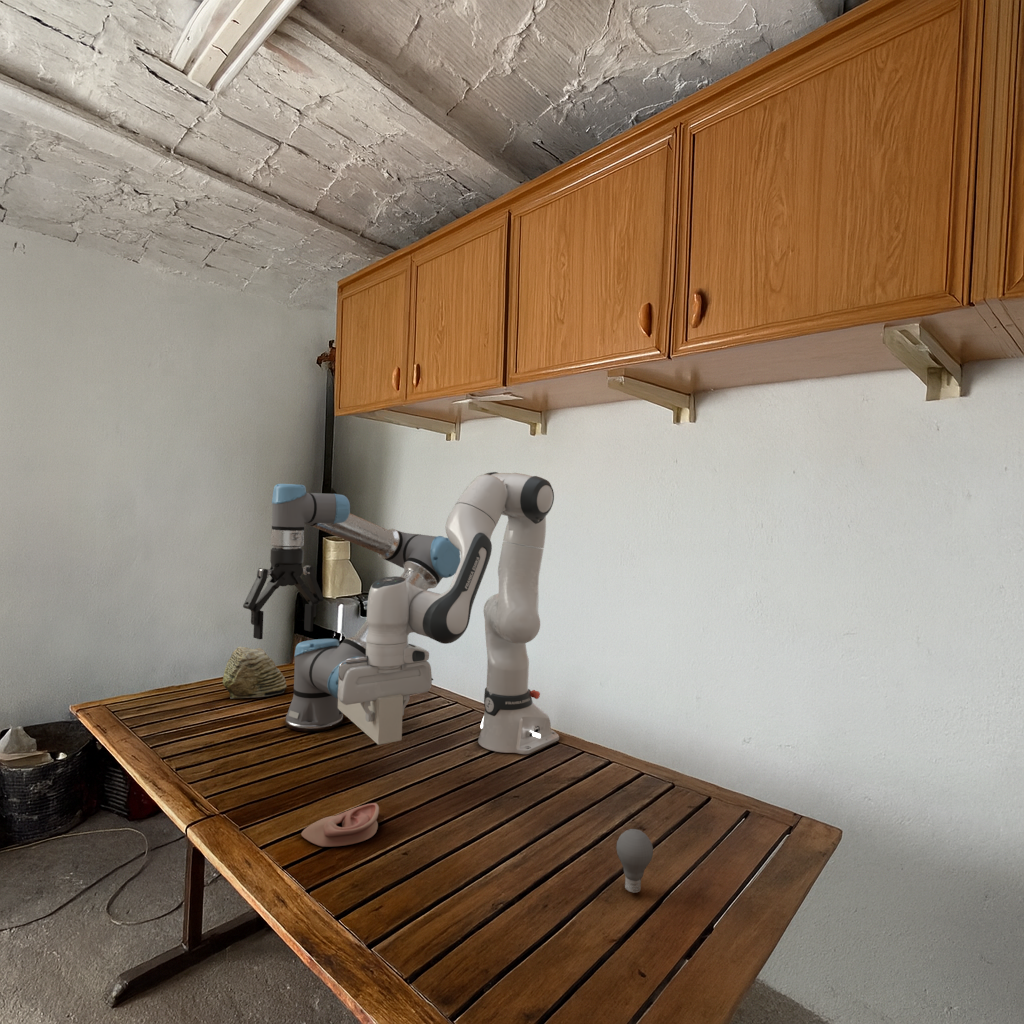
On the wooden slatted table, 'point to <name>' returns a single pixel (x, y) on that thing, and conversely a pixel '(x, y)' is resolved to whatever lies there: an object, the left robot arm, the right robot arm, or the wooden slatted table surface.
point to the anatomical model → (344, 827)
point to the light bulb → (634, 857)
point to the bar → (378, 718)
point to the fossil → (252, 674)
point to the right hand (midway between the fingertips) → (385, 718)
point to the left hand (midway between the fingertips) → (284, 634)
